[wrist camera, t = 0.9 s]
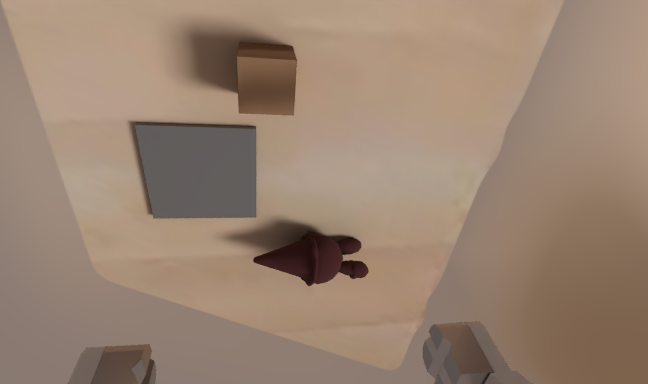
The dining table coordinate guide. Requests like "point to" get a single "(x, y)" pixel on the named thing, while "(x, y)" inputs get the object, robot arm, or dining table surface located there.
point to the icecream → (315, 259)
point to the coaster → (199, 169)
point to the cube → (266, 79)
